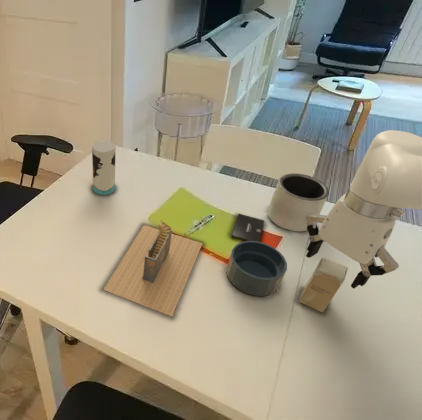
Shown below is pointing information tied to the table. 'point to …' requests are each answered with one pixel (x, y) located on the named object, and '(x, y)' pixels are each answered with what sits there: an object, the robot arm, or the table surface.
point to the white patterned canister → (103, 167)
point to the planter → (296, 201)
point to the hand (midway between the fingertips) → (332, 269)
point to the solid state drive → (247, 228)
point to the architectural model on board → (155, 269)
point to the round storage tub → (256, 268)
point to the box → (323, 284)
